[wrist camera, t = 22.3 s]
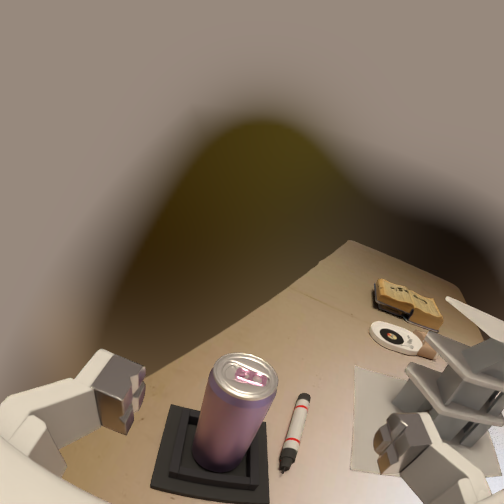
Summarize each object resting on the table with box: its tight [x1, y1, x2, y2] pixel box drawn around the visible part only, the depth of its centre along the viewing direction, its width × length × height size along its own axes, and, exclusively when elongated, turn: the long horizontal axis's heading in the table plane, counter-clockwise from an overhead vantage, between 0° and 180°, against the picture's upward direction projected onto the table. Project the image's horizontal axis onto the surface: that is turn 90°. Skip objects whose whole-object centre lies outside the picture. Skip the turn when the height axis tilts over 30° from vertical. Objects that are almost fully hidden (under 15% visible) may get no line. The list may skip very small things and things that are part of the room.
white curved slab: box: [369, 321, 439, 360], centre depth 64 cm, size 12×3×20 cm
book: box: [374, 279, 443, 332], centre depth 83 cm, size 25×17×6 cm
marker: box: [280, 393, 310, 474], centre depth 33 cm, size 15×2×2 cm, turn 162°
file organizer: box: [350, 296, 504, 477], centre depth 33 cm, size 26×35×22 cm
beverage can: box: [192, 353, 278, 472], centre depth 25 cm, size 6×6×15 cm
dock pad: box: [150, 404, 270, 504], centre depth 27 cm, size 13×13×3 cm
